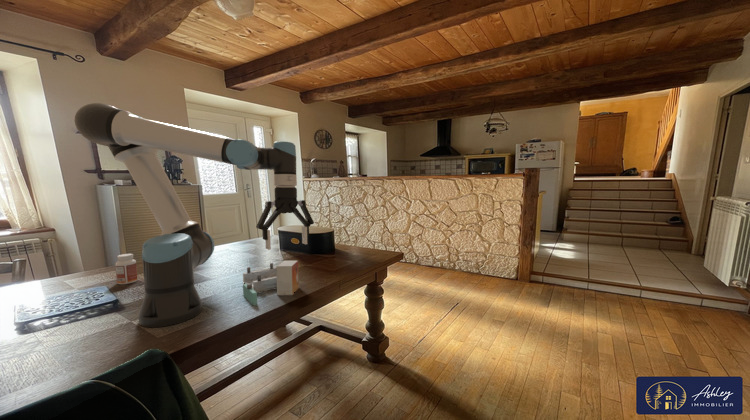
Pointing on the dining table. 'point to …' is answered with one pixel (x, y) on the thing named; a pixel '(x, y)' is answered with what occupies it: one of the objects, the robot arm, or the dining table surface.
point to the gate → (250, 294)
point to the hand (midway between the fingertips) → (287, 246)
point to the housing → (261, 279)
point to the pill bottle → (126, 269)
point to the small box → (287, 277)
